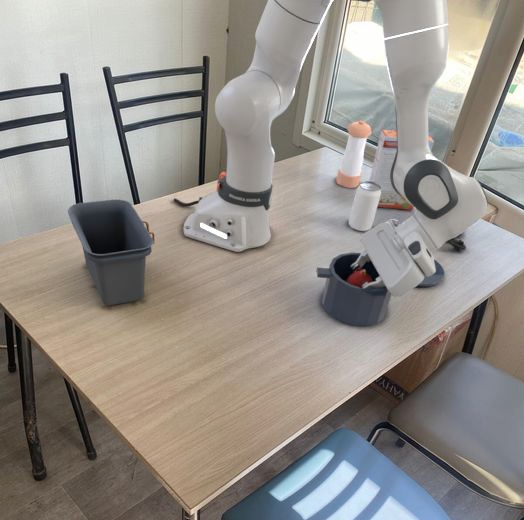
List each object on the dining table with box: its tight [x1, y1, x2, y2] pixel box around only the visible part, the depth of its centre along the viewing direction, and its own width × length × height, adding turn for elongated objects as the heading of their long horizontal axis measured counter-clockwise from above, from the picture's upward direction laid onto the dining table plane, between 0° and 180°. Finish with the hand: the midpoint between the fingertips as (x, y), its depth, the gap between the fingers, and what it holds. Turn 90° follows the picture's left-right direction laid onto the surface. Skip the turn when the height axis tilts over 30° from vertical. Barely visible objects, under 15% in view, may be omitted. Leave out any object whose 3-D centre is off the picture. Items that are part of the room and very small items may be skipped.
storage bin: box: [67, 199, 155, 306], centre depth 113 cm, size 21×16×14 cm
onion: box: [346, 270, 372, 288], centre depth 117 cm, size 6×6×8 cm
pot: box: [315, 251, 393, 327], centre depth 117 cm, size 14×20×10 cm
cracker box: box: [368, 129, 435, 211], centre depth 154 cm, size 14×6×21 cm, turn 92°
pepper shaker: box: [335, 120, 372, 189], centre depth 163 cm, size 7×7×19 cm
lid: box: [416, 259, 445, 287], centre depth 133 cm, size 16×16×7 cm
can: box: [348, 180, 381, 232], centre depth 145 cm, size 6×6×12 cm
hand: (357, 280), depth 116 cm, fingers open, 6 cm apart
